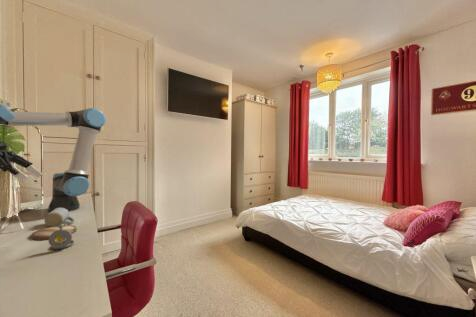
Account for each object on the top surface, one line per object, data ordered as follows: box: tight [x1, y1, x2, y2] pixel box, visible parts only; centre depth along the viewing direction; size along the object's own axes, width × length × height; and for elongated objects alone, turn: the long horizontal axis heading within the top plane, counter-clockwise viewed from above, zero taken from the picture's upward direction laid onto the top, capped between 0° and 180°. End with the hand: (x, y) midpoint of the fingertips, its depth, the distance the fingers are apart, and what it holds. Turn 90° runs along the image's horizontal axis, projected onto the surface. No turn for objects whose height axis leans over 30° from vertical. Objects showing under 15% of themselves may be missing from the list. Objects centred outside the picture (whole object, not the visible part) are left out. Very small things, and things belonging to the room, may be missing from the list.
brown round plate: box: [30, 224, 78, 241], centre depth 89 cm, size 15×15×1 cm
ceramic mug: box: [44, 208, 75, 227], centre depth 100 cm, size 11×8×8 cm
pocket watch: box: [48, 223, 75, 250], centre depth 76 cm, size 8×8×10 cm
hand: (33, 177), depth 96 cm, fingers open, 13 cm apart
